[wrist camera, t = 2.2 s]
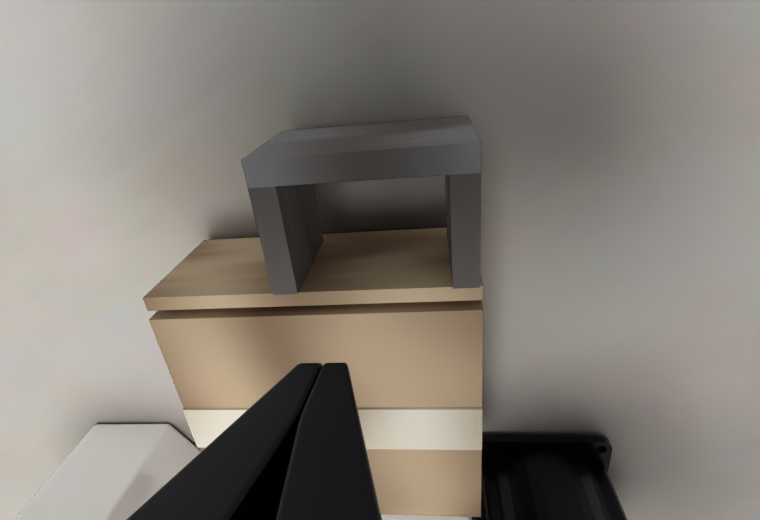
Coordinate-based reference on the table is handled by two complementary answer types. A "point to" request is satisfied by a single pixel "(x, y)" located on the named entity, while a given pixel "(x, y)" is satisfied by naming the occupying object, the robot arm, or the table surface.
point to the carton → (369, 380)
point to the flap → (341, 250)
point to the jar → (111, 473)
